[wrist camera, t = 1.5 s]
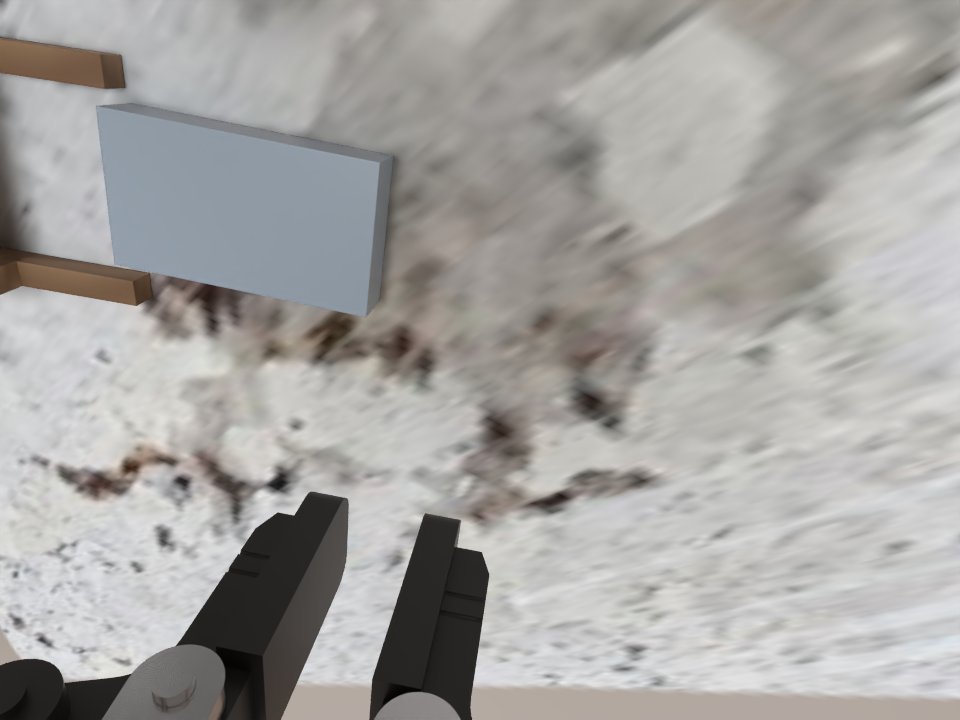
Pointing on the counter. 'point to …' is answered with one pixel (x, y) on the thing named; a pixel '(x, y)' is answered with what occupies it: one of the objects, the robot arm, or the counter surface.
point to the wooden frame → (52, 273)
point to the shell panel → (245, 207)
